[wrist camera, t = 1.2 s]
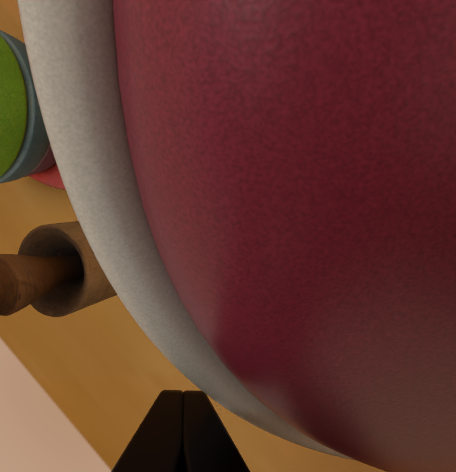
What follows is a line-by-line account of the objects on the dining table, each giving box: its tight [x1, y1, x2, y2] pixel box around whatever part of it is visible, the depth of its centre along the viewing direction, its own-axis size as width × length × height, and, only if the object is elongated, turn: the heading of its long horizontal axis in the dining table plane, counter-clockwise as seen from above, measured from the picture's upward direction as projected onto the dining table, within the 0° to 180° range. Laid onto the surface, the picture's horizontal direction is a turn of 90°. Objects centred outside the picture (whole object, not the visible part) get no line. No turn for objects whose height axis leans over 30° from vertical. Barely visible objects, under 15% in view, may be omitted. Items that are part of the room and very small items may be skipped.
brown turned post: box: [0, 221, 117, 317], centre depth 19 cm, size 7×6×18 cm
